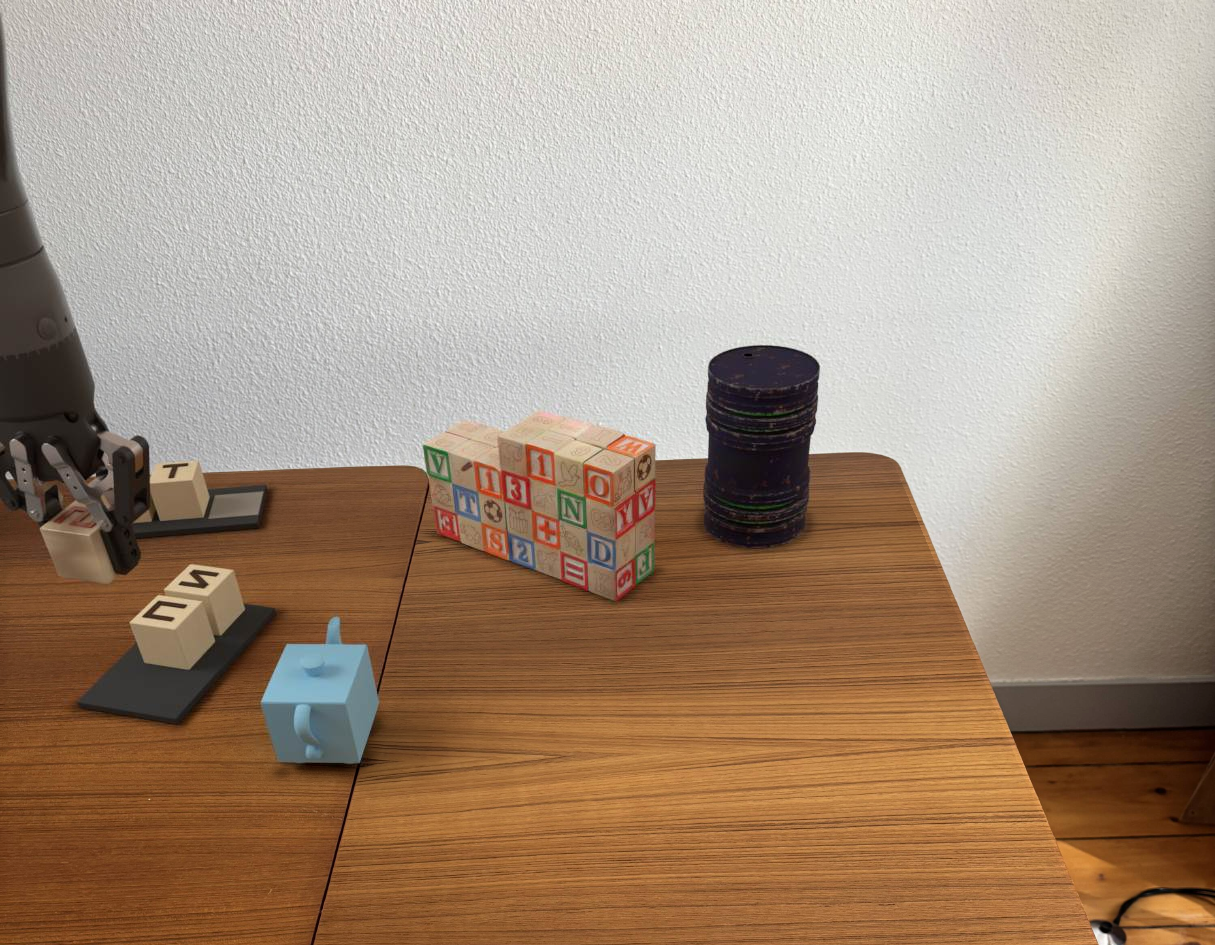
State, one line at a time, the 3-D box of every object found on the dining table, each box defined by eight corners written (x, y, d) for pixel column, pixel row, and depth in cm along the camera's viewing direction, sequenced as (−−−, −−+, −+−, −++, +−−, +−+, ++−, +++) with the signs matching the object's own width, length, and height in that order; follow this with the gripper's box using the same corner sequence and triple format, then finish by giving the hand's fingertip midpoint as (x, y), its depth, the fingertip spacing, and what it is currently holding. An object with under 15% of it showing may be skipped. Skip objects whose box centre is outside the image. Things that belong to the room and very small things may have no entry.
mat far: (101, 541, 109) (84, 496, 106) (118, 501, 115) (103, 458, 112) (258, 528, 110) (246, 483, 107) (267, 489, 116) (256, 446, 113)
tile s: (58, 577, 83) (38, 526, 80) (93, 548, 86) (74, 498, 83) (108, 584, 82) (89, 534, 79) (141, 555, 85) (124, 505, 82)
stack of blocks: (434, 535, 108) (415, 410, 100) (477, 508, 112) (462, 385, 103) (617, 602, 99) (613, 470, 90) (657, 570, 102) (657, 440, 94)
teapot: (315, 685, 91) (294, 606, 86) (389, 686, 91) (373, 606, 86) (275, 785, 82) (250, 703, 77) (357, 786, 82) (337, 703, 77)
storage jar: (825, 534, 106) (843, 376, 96) (732, 558, 104) (739, 398, 93) (774, 489, 113) (785, 337, 103) (685, 510, 110) (687, 356, 100)
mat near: (78, 707, 90) (57, 659, 87) (186, 600, 101) (171, 553, 98) (177, 725, 88) (159, 675, 85) (276, 613, 99) (264, 566, 96)
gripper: (142, 317, 73) (211, 552, 85) (-42, 299, 76) (49, 528, 88) (71, 362, 68) (155, 605, 80) (-124, 341, 71) (-15, 578, 83)
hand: (99, 563), depth 84 cm, fingers closed on tile s, 4 cm apart
